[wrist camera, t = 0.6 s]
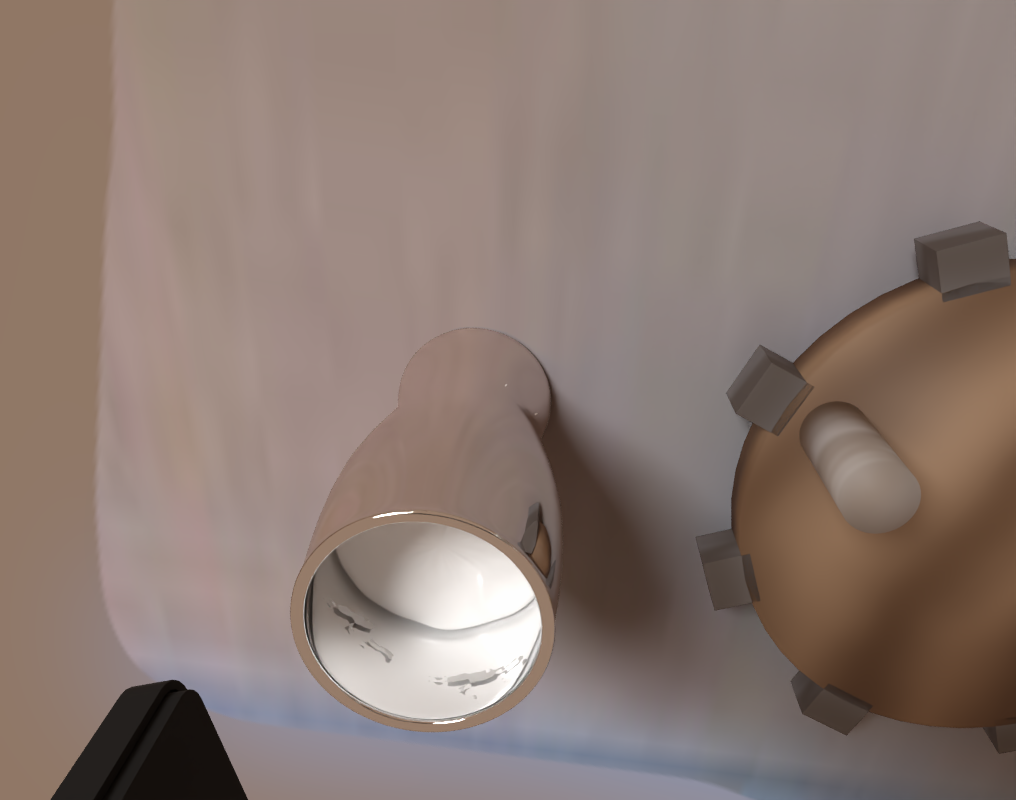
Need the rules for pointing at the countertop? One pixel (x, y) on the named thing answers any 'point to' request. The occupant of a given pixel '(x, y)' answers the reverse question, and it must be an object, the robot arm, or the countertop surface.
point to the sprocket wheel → (888, 500)
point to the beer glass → (440, 546)
